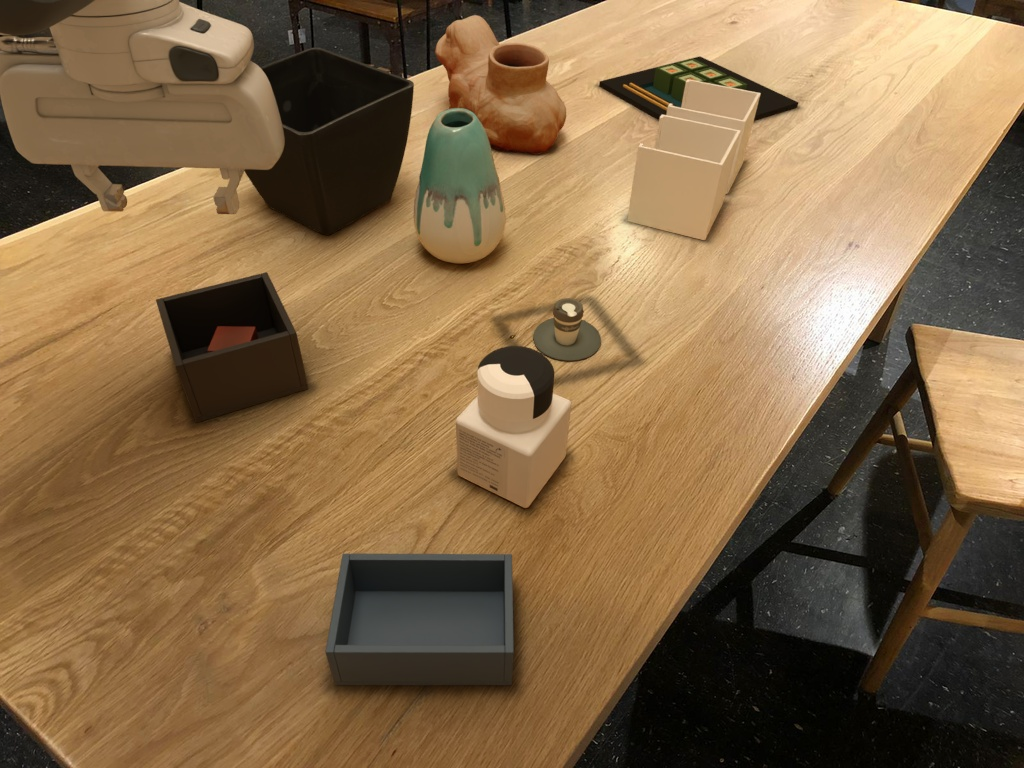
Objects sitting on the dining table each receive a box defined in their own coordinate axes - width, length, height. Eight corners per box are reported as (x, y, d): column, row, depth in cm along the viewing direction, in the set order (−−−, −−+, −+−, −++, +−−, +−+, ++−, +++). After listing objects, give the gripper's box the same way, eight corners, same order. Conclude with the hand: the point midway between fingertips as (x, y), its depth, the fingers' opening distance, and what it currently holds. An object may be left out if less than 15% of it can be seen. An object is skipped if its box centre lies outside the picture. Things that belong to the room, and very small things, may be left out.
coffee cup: (590, 299, 92) (594, 265, 89) (636, 361, 84) (643, 326, 81) (497, 320, 89) (497, 285, 86) (536, 386, 81) (538, 351, 78)
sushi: (599, 86, 140) (601, 65, 137) (699, 60, 150) (702, 41, 148) (693, 139, 125) (697, 117, 122) (797, 107, 135) (803, 86, 133)
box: (334, 685, 57) (324, 652, 53) (350, 588, 63) (342, 553, 59) (511, 685, 57) (513, 652, 54) (510, 589, 63) (512, 553, 60)
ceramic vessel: (482, 89, 137) (482, 0, 127) (582, 142, 123) (591, 47, 113) (418, 108, 131) (413, 16, 121) (516, 167, 116) (519, 68, 106)
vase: (450, 285, 94) (446, 148, 82) (398, 244, 100) (386, 111, 88) (523, 253, 99) (528, 121, 87) (469, 216, 106) (467, 87, 93)
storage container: (704, 240, 103) (722, 165, 95) (627, 221, 106) (638, 146, 98) (743, 162, 120) (760, 93, 112) (675, 147, 123) (687, 79, 115)
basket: (196, 423, 76) (175, 366, 71) (175, 355, 83) (155, 299, 78) (308, 388, 80) (296, 332, 75) (279, 326, 87) (267, 271, 82)
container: (499, 425, 77) (501, 324, 68) (566, 456, 74) (578, 355, 65) (456, 476, 72) (452, 374, 63) (527, 511, 69) (533, 409, 60)
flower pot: (325, 258, 97) (304, 132, 86) (230, 209, 105) (199, 88, 94) (425, 199, 109) (418, 81, 97) (332, 159, 117) (315, 46, 105)
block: (216, 379, 80) (206, 350, 77) (226, 354, 83) (217, 325, 80) (254, 380, 80) (246, 351, 77) (263, 355, 83) (255, 326, 80)
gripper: (-47, 50, 53) (30, 226, 62) (253, 60, 54) (285, 232, 63) (-4, 20, 57) (62, 188, 67) (272, 30, 58) (299, 194, 68)
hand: (172, 209), depth 65 cm, fingers open, 8 cm apart
